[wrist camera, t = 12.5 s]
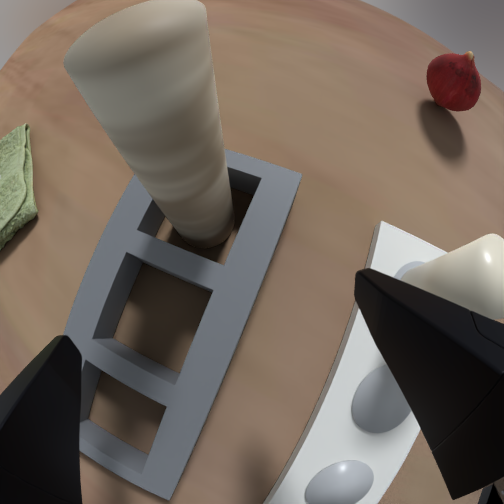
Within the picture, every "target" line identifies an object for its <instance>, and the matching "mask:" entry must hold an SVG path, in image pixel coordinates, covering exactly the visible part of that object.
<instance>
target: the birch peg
mask: <svg viewBox="0 0 504 504" xmlns="http://www.w3.org/2000/svg"><path fill="white" fill-rule="evenodd" d="M64 67H65V69H66V70H67V72H68V74H69V75H70V77H71V79H72V80H73V82H74V84H75V85H76V87H77V88H78V90H79V92H80V93H81V95H82V96H83V98H84V99H85V101H86V103H87V104H88V106H89V107H90V109H91V110H92V112H93V113H94V115H95V117H96V118H97V120H98V121H99V123H100V124H101V126H102V127H103V129H104V130H105V132H106V133H107V135H108V136H109V138H110V139H111V141H112V142H113V143H114V145H115V146H116V148H117V149H118V151H119V152H120V154H121V155H122V157H123V158H124V159H125V161H126V162H127V164H128V165H129V167H130V168H131V169H132V171H133V172H134V174H135V175H136V176H137V178H138V179H139V181H140V182H141V183H142V185H143V186H144V188H145V189H146V190H147V192H148V193H149V194H150V196H151V197H152V199H153V200H154V201H155V203H156V204H157V205H158V207H159V208H160V209H161V211H162V212H163V213H164V215H165V216H166V217H167V219H168V220H169V221H170V223H171V224H172V225H173V227H174V228H175V229H176V231H177V232H178V233H179V235H180V236H181V237H182V238H183V240H184V241H185V242H187V243H188V244H190V245H191V246H194V247H197V248H211V247H214V246H217V245H219V244H220V243H222V242H223V241H224V240H226V239H227V237H228V236H229V235H230V233H231V232H232V230H233V227H234V221H235V217H234V210H233V203H232V196H231V190H230V183H229V176H228V169H227V163H226V156H225V149H224V142H223V135H222V128H221V121H220V114H219V106H218V99H217V92H216V84H215V77H214V70H213V62H212V54H211V47H210V39H209V31H208V23H207V15H206V9H205V6H204V5H203V4H202V3H201V2H199V1H197V0H152V1H147V2H144V3H140V4H137V5H134V6H131V7H128V8H126V9H123V10H121V11H119V12H117V13H114V14H112V15H110V16H109V17H107V18H105V19H103V20H102V21H100V22H98V23H97V24H95V25H94V26H92V27H91V28H90V29H88V30H87V31H86V32H85V33H83V34H82V35H81V36H80V37H79V38H78V39H77V40H76V41H75V42H74V43H73V45H72V46H71V47H70V48H69V50H68V51H67V53H66V55H65V58H64Z"/></svg>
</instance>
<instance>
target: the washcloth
mask: <svg viewBox="0 0 504 504" xmlns="http://www.w3.org/2000/svg"><path fill="white" fill-rule="evenodd" d="M29 134H30V127H29V125H28V124H27V123H26V124H24V125H22V126H18V127H17V128H16V129H14V130H13V131H12V132H10V133H9V134H8V135H6V136H5V137H3V138H2V140H0V251H1V249H2V247H4V245H5V243H6V242H7V241H9V240H11V238H12V237H13V235H15V232H16V231H17V230H18V229H19V228H23V226H24V225H25V224H26V223H28V221H30V220H31V219H34V217H35V215H36V214H37V213H38V210H37V207H36V203H35V197H34V191H33V166H32V158H31V146H30V135H29Z"/></svg>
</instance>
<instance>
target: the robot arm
mask: <svg viewBox="0 0 504 504" xmlns="http://www.w3.org/2000/svg"><path fill="white" fill-rule="evenodd" d="M354 296H355V300H356V303H357V305H358V307H359V309H360V311H361V314H362V316H363V318H364V320H365V322H366V325H367V327H368V329H369V332H370V334H371V336H372V338H373V340H374V342H375V344H376V346H377V348H378V350H379V351H380V353H381V355H382V357H383V358H384V360H385V362H386V364H387V366H388V367H389V369H390V371H391V373H392V375H393V376H394V378H395V380H396V382H397V384H398V386H399V388H400V389H401V391H402V393H403V395H404V397H405V399H406V401H407V403H408V405H409V406H410V408H411V410H412V412H413V414H414V416H415V418H416V420H417V422H418V424H419V426H420V428H421V430H422V432H423V434H424V437H425V439H426V441H427V443H428V445H429V447H430V449H431V451H432V454H433V456H434V458H435V460H436V463H437V465H438V467H439V469H440V472H441V474H442V476H443V479H444V481H445V483H446V486H447V488H448V491H449V493H450V496H451V498H452V499H453V500H455V499H457V498H460V497H462V496H465V495H467V494H470V493H472V492H474V491H477V490H479V489H481V488H483V487H485V486H486V487H485V488H483V490H482V493H481V496H480V499H479V501H478V504H504V324H503V323H500V322H497V321H495V320H492V319H490V318H488V317H485V316H483V315H481V314H478V313H476V312H474V311H470V310H469V309H467V308H465V307H462V306H460V305H458V304H456V303H453V302H451V301H449V300H446V299H444V298H442V297H439V296H437V295H435V294H432V293H430V292H428V291H425V290H423V289H420V288H418V287H416V286H413V285H411V284H408V283H406V282H403V281H401V280H399V279H396V278H394V277H391V276H389V275H386V274H384V273H381V272H379V271H376V270H374V269H371V268H366V269H362V270H359V271H357V272H356V275H355V290H354ZM81 382H82V355H81V352H80V351H79V349H78V348H77V347H76V345H75V344H74V343H73V341H72V340H71V339H70V337H69V336H67V335H60V336H56V337H55V338H54V339H53V340H52V341H51V342H50V343H49V344H48V345H47V346H46V347H45V348H44V349H43V350H42V351H41V352H40V353H39V354H38V355H37V356H36V357H35V358H34V359H33V360H32V361H31V362H30V363H29V364H28V365H27V366H26V367H25V368H24V369H23V371H22V372H21V373H20V374H19V375H18V376H17V377H16V378H15V379H14V380H13V381H12V382H11V384H10V385H9V386H8V387H7V388H6V389H5V390H4V391H3V392H2V394H1V395H0V504H82V494H81V482H80V455H79V441H80V414H81Z"/></svg>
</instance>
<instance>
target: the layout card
mask: <svg viewBox="0 0 504 504" xmlns="http://www.w3.org/2000/svg"><path fill="white" fill-rule="evenodd" d="M366 268H371V269H374V270H376V271H379V272H381V273H384V274H386V275H389V276H391V277H394V278H396V279H399V280H401V281H403V282H406V283H408V284H411V285H413V286H416V287H418V288H420V289H423V290H425V291H428V292H430V293H432V294H435V295H437V296H439V297H442V298H444V299H446V300H449V301H451V302H453V303H456V304H458V305H460V306H462V307H465V308H467V309H469V310H470V311H474V312H476V313H478V314H481V315H483V316H485V317H488V318H490V319H492V320H494V319H501V318H504V239H503V238H501V237H500V236H498V235H496V234H487V235H485V236H483V237H481V238H479V239H477V240H475V241H473V242H471V243H469V244H467V245H464V246H462V247H460V248H458V249H456V250H454V251H451V252H449V253H447V252H445V251H443V250H441V249H439V248H437V247H435V246H433V245H431V244H429V243H427V242H425V241H423V240H421V239H419V238H417V237H415V236H413V235H411V234H409V233H407V232H405V231H403V230H401V229H398V228H396V227H394V226H392V225H390V224H388V223H385V222H383V221H381V222H379V223H378V224H377V225H376V226H375V229H374V234H373V238H372V242H371V246H370V250H369V254H368V258H367V262H366V266H365V269H366ZM420 429H421V428H420V426H419V424H418V422H417V420H416V418H415V416H414V414H413V412H412V410H411V408H410V406H409V405H408V403H407V401H406V399H405V397H404V395H403V393H402V391H401V389H400V388H399V386H398V384H397V382H396V380H395V378H394V376H393V375H392V373H391V371H390V369H389V367H388V366H387V364H386V362H385V360H384V358H383V357H382V355H381V353H380V351H379V350H378V348H377V346H376V344H375V342H374V340H373V338H372V336H371V334H370V332H369V329H368V327H367V325H366V322H365V320H364V318H363V316H362V314H361V311H360V309H359V307H358V305H357V303H356V300H355V304H354V307H353V310H352V313H351V316H350V319H349V322H348V325H347V328H346V331H345V334H344V337H343V339H342V342H341V345H340V348H339V350H338V353H337V356H336V358H335V361H334V363H333V366H332V369H331V371H330V374H329V376H328V378H327V381H326V383H325V386H324V388H323V390H322V393H321V395H320V397H319V400H318V402H317V404H316V406H315V408H314V411H313V413H312V415H311V417H310V419H309V421H308V423H307V425H306V428H305V430H304V432H303V434H302V436H301V438H300V440H299V442H298V444H297V445H296V447H295V449H294V451H293V453H292V455H291V457H290V459H289V460H288V462H287V464H286V466H285V468H284V469H283V471H282V473H281V475H280V476H279V478H278V480H277V481H276V483H275V485H274V487H273V488H272V490H271V491H270V493H269V495H268V496H267V498H266V499H265V501H264V503H263V504H377V503H378V502H379V500H380V499H381V498H382V496H383V495H384V493H385V492H386V490H387V488H388V487H389V485H390V484H391V482H392V481H393V479H394V477H395V476H396V474H397V472H398V471H399V469H400V467H401V466H402V464H403V462H404V460H405V458H406V457H407V455H408V453H409V451H410V449H411V447H412V445H413V443H414V441H415V439H416V437H417V435H418V433H419V431H420Z"/></svg>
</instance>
